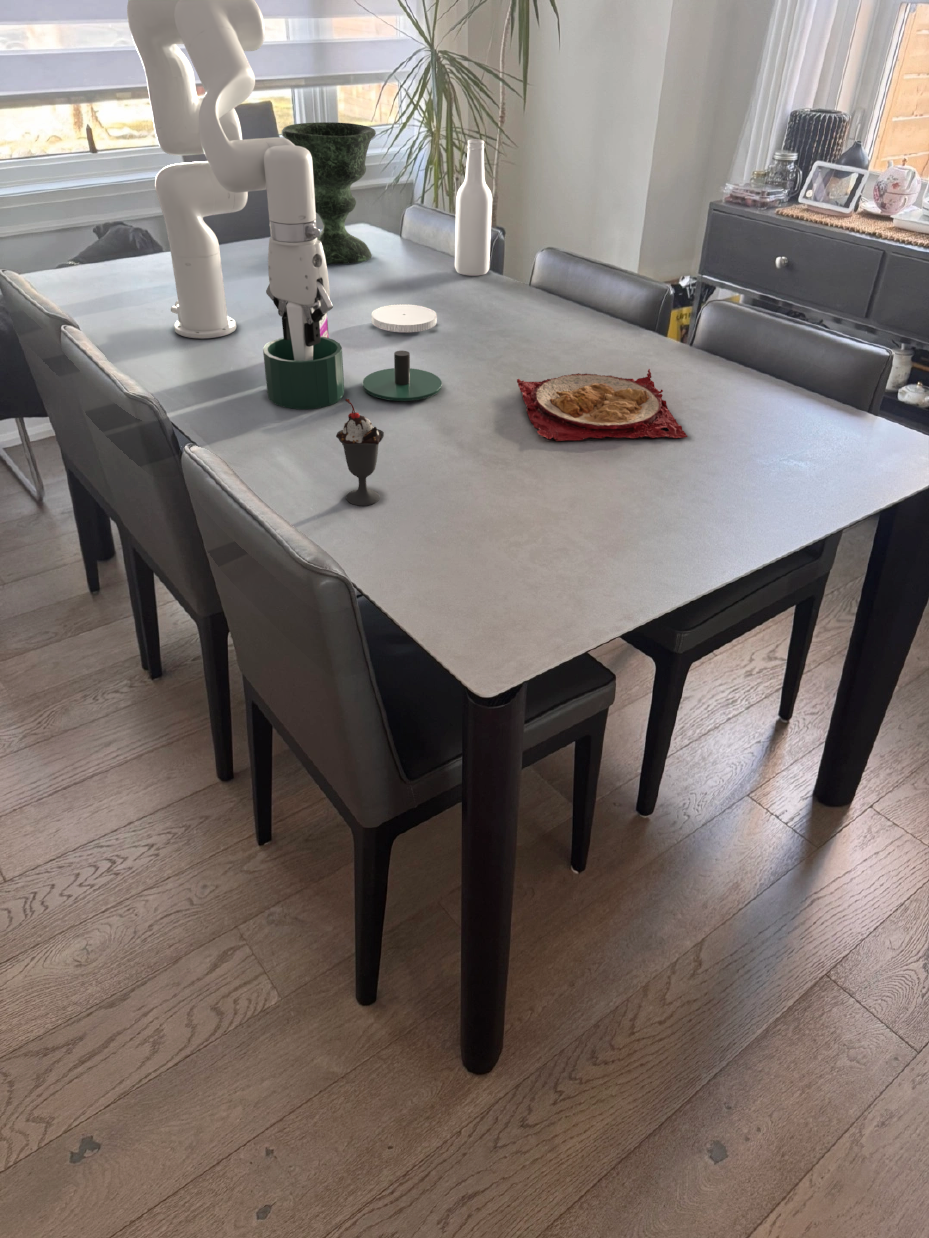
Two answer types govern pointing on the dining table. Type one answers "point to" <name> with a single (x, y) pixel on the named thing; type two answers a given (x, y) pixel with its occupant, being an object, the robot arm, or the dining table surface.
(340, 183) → the goblet
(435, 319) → the plastic lid
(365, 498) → the sundae
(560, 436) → the plate with food
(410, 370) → the lid
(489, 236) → the alcohol
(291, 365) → the tin
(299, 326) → the perfume bottle
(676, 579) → the dining table surface
